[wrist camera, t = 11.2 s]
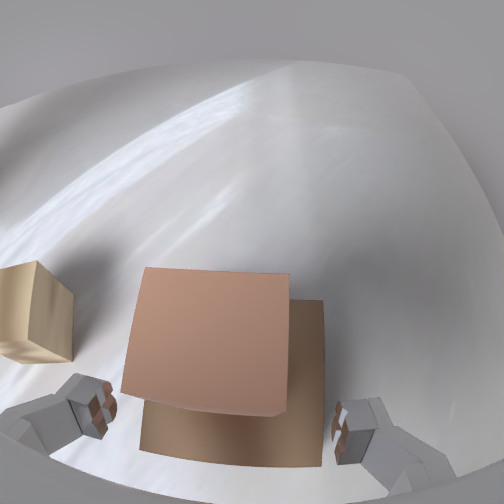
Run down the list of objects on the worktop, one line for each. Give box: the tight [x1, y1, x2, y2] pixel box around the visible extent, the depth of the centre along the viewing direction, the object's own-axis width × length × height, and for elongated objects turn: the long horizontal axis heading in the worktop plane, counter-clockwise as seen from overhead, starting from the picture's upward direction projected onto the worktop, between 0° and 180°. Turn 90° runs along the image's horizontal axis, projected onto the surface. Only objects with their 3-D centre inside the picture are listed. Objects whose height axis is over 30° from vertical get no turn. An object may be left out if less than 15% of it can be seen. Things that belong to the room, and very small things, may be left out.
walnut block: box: [139, 300, 324, 468], centre depth 17 cm, size 10×10×4 cm
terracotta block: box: [121, 267, 289, 417], centre depth 12 cm, size 4×4×9 cm
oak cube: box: [0, 260, 74, 364], centre depth 19 cm, size 6×6×6 cm
